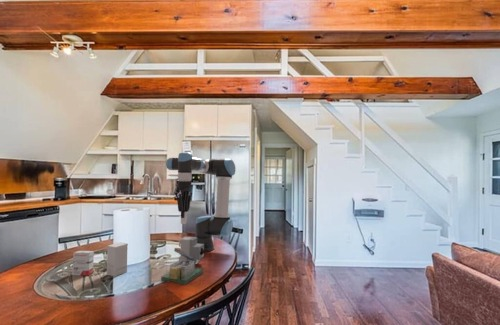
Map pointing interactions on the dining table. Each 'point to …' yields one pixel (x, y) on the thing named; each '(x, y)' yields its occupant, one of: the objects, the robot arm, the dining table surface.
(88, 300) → the dining table surface
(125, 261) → the skincare box
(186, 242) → the circuit breaker
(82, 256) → the ink box
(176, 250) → the silver elongated bar
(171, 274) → the circuit board
